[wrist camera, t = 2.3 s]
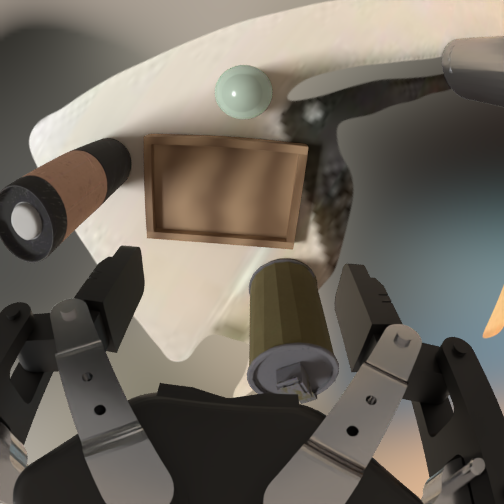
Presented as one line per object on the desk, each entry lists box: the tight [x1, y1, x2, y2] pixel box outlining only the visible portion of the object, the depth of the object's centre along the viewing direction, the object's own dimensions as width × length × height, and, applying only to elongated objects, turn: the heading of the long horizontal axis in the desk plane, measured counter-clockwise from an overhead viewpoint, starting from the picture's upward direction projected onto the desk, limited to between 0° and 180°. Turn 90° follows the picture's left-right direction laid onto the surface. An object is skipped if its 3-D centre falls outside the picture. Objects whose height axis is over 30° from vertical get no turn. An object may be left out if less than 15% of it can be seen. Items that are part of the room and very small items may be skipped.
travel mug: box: [0, 138, 131, 262], centre depth 31 cm, size 8×8×20 cm
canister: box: [247, 259, 339, 404], centre depth 40 cm, size 11×10×20 cm
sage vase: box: [215, 65, 272, 119], centre depth 29 cm, size 5×5×14 cm
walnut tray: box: [144, 134, 308, 249], centre depth 40 cm, size 20×14×2 cm
